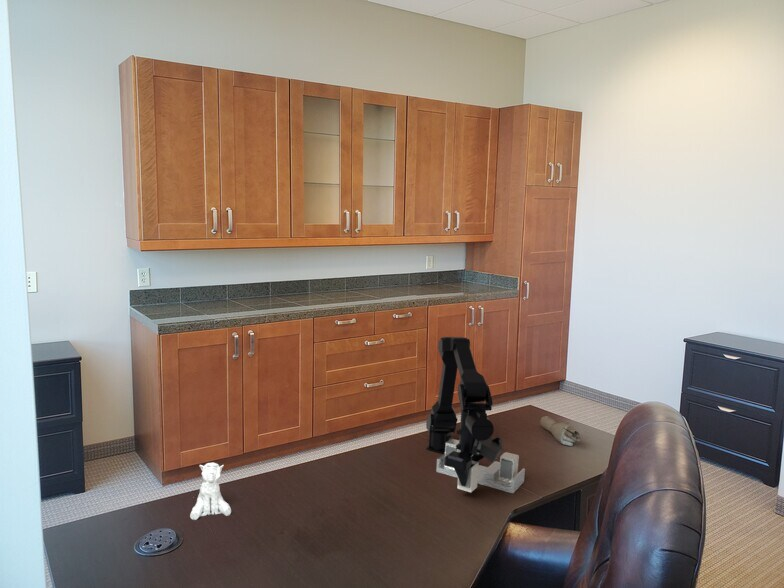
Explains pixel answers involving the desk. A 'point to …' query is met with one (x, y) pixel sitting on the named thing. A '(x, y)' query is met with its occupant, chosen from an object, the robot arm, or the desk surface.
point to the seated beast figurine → (210, 493)
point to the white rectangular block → (470, 479)
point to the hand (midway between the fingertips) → (467, 482)
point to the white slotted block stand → (489, 470)
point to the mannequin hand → (560, 430)
